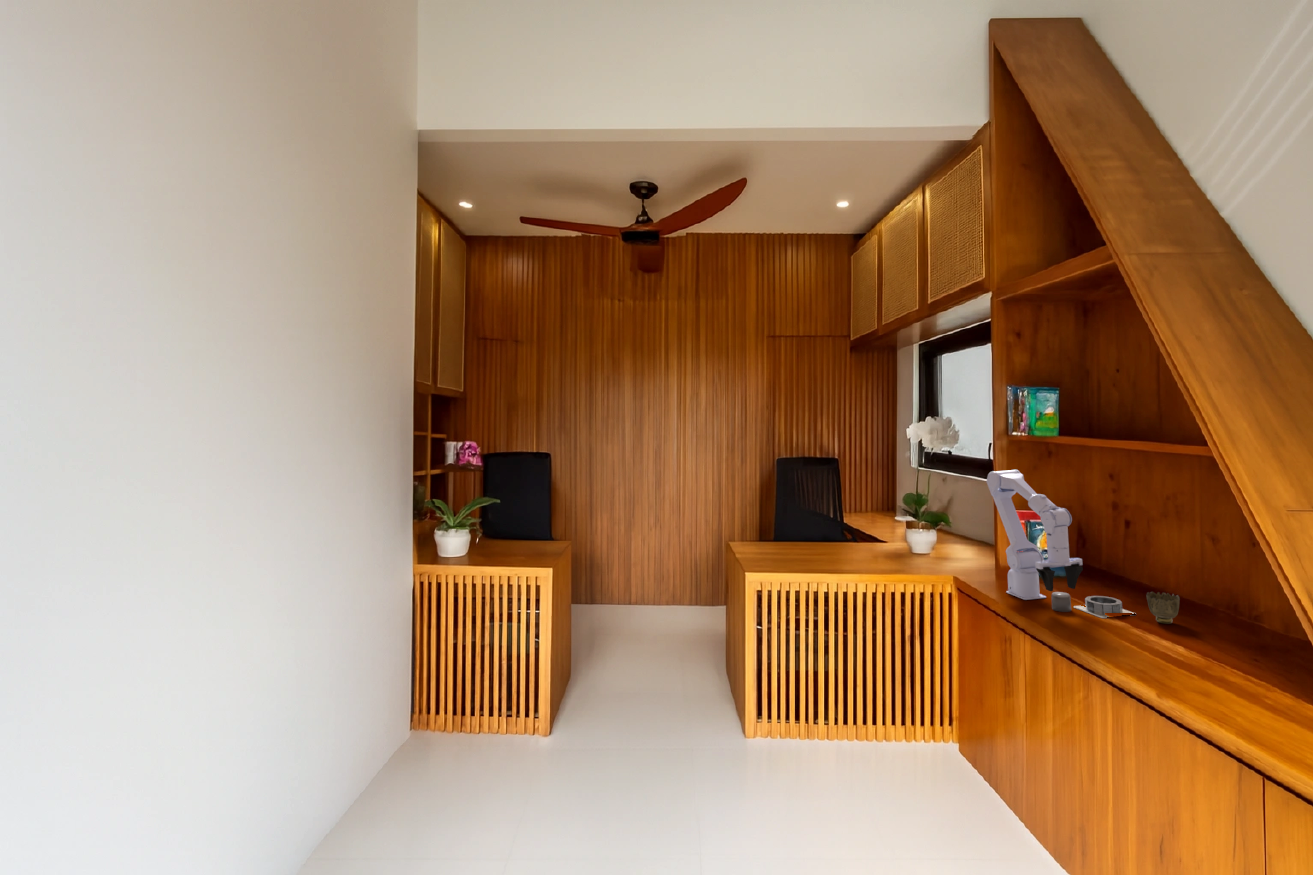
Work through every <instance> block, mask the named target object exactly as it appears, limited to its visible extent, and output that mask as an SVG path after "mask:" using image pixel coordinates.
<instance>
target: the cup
mask: <svg viewBox="0 0 1313 875" xmlns="http://www.w3.org/2000/svg"><path fill="white" fill-rule="evenodd" d="M1145 595H1146V600H1147V605H1148V608H1149V612H1150V613H1151V614H1152V615H1153V616H1155V621H1156V622H1157V623H1160V624H1164V625H1165V624H1167V625H1169V624H1172V623H1173V620H1174V618H1176V617H1177V616H1178V614H1179V609H1180V600H1181V597H1180V596H1179V594H1177V595H1175V594H1174V593H1172V594H1170V593H1169V592H1167V593H1166V592H1163V591H1162V593H1160V592H1159V591H1158V592H1156V593H1155V592H1154V591H1150V592H1149V591H1148V592H1146V593H1145Z"/></svg>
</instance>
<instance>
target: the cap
mask: <svg viewBox="0 0 1313 875" xmlns="http://www.w3.org/2000/svg"><path fill="white" fill-rule="evenodd" d="M1051 610H1053V611H1055V612H1059V613H1060V612H1061V613H1070V612H1072V602H1071V595H1070V594H1069V592H1068V593H1067V592H1065V591H1064V592H1063V591H1052V593H1051Z"/></svg>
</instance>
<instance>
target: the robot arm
mask: <svg viewBox="0 0 1313 875" xmlns="http://www.w3.org/2000/svg"><path fill="white" fill-rule="evenodd" d="M985 482H986V484H987V488H988V490H989V492H990V495H991V497H992V498H993V501H994V504H995V506H996V509H997V512H998V514H999V517H1000V519H1001V522H1002V525H1003V527H1004V530H1005V534H1006V535H1007V538H1008V541H1009V543H1010V544H1009V546H1008V547H1007V548H1006V550H1005V553H1006V561H1007V565H1008V566H1009V568H1010V569H1009V570H1008V572H1007V590H1006V592H1005V593H1007V594H1009V595H1011V596H1015V597H1017V598H1019V599H1022V600H1024V601H1027V600H1037V599H1038V600H1039V599H1046V598H1047V596H1046V595H1044V594H1042V593H1040V577H1041V580H1042V582H1043V585H1044V587H1045V590H1047V591H1050V592H1054V576H1055V574H1056V571H1055V570H1052V568H1060V567H1063V569H1064V571H1065V574H1066V584H1067V587H1068V588H1070V589H1072V590H1075V589H1076V587H1077V582H1078V578H1079V577H1080V574H1081V573H1082V571H1084V568H1083V565H1084V564H1083V558H1080V557H1070V544H1069V529H1068V527H1069V526H1070V525H1071V524H1072V521H1073V517H1072V514H1071V513H1070V511H1069V510H1068V509H1067V508H1065V507H1060V506H1057V505H1056V504H1055V503H1053V502H1052V501H1051V500H1050V499H1049V498H1048V497H1047V495H1045V494H1041V493H1037V492H1036V491H1035V490H1034V489H1033V488H1032V487H1031V486H1030V485H1029V483H1027V481H1025V477H1024V474H1023V473H1021V472H1020V470H1018V469H1011V470H997V471H996V470H995V471H994V470H992V471H990V472H989V473H988V474H987V477H986V481H985ZM1016 493H1017V494H1019V495H1020V496H1022V498H1024V499H1025V500H1026V501H1027V505H1028V507H1029V508H1030V509H1031V510H1032V511H1033V512H1034V513H1035V514H1037V515H1038V516H1039V518H1040V522H1041V524H1042V526H1043V530H1044V533H1045V534H1046V546H1047V547H1046V549H1047V551H1046V552H1047V559H1044V555H1043V554H1042V553H1041V552H1040V549H1038V546H1037V545H1036V544H1035V543H1033V542H1031V541H1029V540H1028V538H1027V536H1026V532H1025V530H1024V527H1023V526H1022V523H1021V520H1020V517H1019V515H1018V513H1017V510H1016V507H1015V505H1014V502H1013V498H1012V497H1013V496H1014V495H1016ZM1039 575H1040V577H1039Z"/></svg>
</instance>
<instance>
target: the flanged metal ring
mask: <svg viewBox="0 0 1313 875" xmlns="http://www.w3.org/2000/svg"><path fill="white" fill-rule="evenodd" d="M1084 602H1085V603H1084V605H1085V606H1086V607H1084V606H1081V605H1082V604H1081V605H1074V606H1073V608H1074V609H1077V610H1080V611H1083V612H1085V613H1087V614H1090V615H1092V616H1095V617H1097V618H1101V619H1108V618H1107V617H1109V616H1107V615H1105V613H1132V614H1134V613H1135V614H1136V615H1137V613H1136V612H1132V611H1130V610H1127V609H1124V608H1123V602H1122V601H1121V599H1117V598H1115V597H1111V596H1110V597H1109V596H1104V595H1091V596H1090V595H1089V596H1086V597H1085V598H1084Z"/></svg>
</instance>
